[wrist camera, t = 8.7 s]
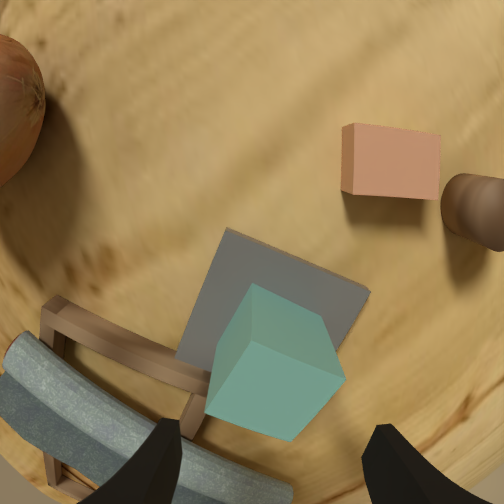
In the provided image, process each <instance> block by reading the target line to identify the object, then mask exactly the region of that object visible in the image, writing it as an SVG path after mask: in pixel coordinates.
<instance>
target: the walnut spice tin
mask: <svg viewBox="0 0 504 504" xmlns="http://www.w3.org/2000/svg"><path fill="white" fill-rule="evenodd" d="M441 213H442V217H443V220H444V223H445V225H446V226H447V228H448V229H449V230H450V231H451V232H453V233H455V234H457V235H459V236H462V237H464V238H466V239H469V240H471V241H473V242H476V243H478V244H480V245H482V246H485V247H487V248H489V249H491V250H493V251H496V252H502V251H504V179H500V178H494V177H487V176H480V175H473V174H465V173H463V174H458V175H456V176H454V177H453V178H452V179H451V180H450V181H449V182H448V183H447V185H446V187H445V189H444V191H443V194H442V199H441Z"/></svg>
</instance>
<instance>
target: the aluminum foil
mask: <svg viewBox="0 0 504 504" xmlns="http://www.w3.org/2000/svg"><path fill="white" fill-rule="evenodd" d="M2 365H3V369H4V370H5V372H4V373H3V375H2V376H1V377H0V416H1V417H2V418H3V419H4V420H5V421H6V422H7V423H8V424H9V425H10V426H11V427H12V428H13V429H14V430H15V431H16V432H17V433H18V434H19V435H20V436H21V437H22V438H23V439H24V440H26V441H28V442H29V443H31V444H32V445H34V446H36V447H37V448H39V449H40V450H42V451H44V452H46V453H47V454H49V455H51V456H52V457H54V458H56V459H58V460H60V461H61V462H63V463H65V464H67V465H69V466H71V467H73V468H75V469H76V470H78V471H79V472H80V473H82V474H83V475H84V476H86V477H87V478H89V479H90V480H91V481H93V482H94V483H96V484H97V485H98V486H100V487H101V486H102V485H103V484H104V483H105V482H107V481H108V480H109V479H110V478H111V477H112V476H113V475H114V474H115V473H116V472H117V471H118V470H119V469H120V468H121V467H122V466H123V465H124V464H125V463H126V462H127V461H128V460H129V459H130V458H131V457H132V456H133V454H134V453H135V452H136V451H137V450H138V448H139V447H140V446H141V445H142V444H143V442H144V441H145V440H146V439H147V437H148V436H149V435H150V433H151V432H152V430H153V429H154V428H155V426H156V425H157V423H155V422H153V421H152V420H150V419H148V418H147V417H145V416H143V415H142V414H140V413H138V412H137V411H135V410H133V409H132V408H130V407H129V406H127V405H126V404H124V403H122V402H121V401H119V400H118V399H116V398H115V397H113V396H112V395H110V394H109V393H107V392H106V391H104V390H103V389H102V388H100V387H99V386H97V385H96V384H94V383H93V382H92V381H90V380H89V379H88V378H86V377H85V376H83V375H82V374H81V373H79V372H78V371H77V370H75V369H74V368H73V367H72V366H70V365H69V364H68V363H66V362H65V361H64V360H63V359H61V358H60V357H59V356H58V355H56V354H55V353H54V352H53V351H52V350H50V349H49V348H48V347H47V346H46V345H44V344H43V343H42V342H41V341H40V340H39V339H37V338H36V337H35V336H34V335H33V334H32V333H31V332H30V331H24V332H23V333H22V334H20V335H18V336H17V337H16V338H15V339H14V340H13V342H12V343H11V344H10V346H9V347H8V349H7V351H6V353H5V356H4V360H3V364H2ZM181 443H182V452H183V455H182V461H181V468H180V474H179V478H178V482H177V485H176V489H175V492H174V496H173V499H172V503H171V504H291V502H292V500H293V488H292V486H291V485H290V484H289V483H287V482H284V481H281V480H278V479H275V478H273V477H270V476H267V475H265V474H262V473H259V472H257V471H254V470H252V469H249V468H247V467H244V466H242V465H240V464H237V463H235V462H233V461H230V460H228V459H226V458H223V457H221V456H219V455H217V454H215V453H213V452H210V451H208V450H206V449H204V448H202V447H200V446H198V445H196V444H194V443H192V442H190V441H188V440H186V439H184V438H182V437H181Z"/></svg>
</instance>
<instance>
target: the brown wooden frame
mask: <svg viewBox="0 0 504 504" xmlns="http://www.w3.org/2000/svg"><path fill="white" fill-rule="evenodd" d="M66 336H67V337H69V338H71V339H73V340H75V341H77V342H79V343H80V344H82V345H84V346H86V347H88V348H90V349H92V350H94V351H96V352H98V353H100V354H102V355H104V356H106V357H108V358H110V359H113V360H115V361H117V362H119V363H121V364H123V365H125V366H128V367H130V368H132V369H134V370H137V371H139V372H141V373H144V374H146V375H148V376H151V377H153V378H155V379H158V380H160V381H163V382H165V383H168V384H170V385H173V386H175V387H178V388H181V389H183V390H186V391H189V392H191V395H190V398H189V400H188V402H187V404H186V406H185V409H184V411H183V413H182V415H181V417H180V420H179V422H180V433H181V437H182V438H184V439H186V440H188V441H190V442H191V441H192V440H193V438H194V436H195V434H196V432H197V430H198V428H199V427H200V425H201V423H202V421H203V419H204V417H205V415H206V413H204V411H205V405H206V400H207V394H208V389H209V384H210V378H211V373H212V372H209V371H206V370H204V369H201V368H198V367H196V366H193V365H190V364H188V363H185V362H183V361H180V360H178V359H175V358H174V357H175V355H176V352H177V351H175V350H172V349H170V348H167V347H165V346H163V345H160V344H158V343H156V342H153V341H151V340H149V339H146V338H144V337H142V336H139V335H137V334H135V333H133V332H131V331H128V330H126V329H124V328H122V327H120V326H118V325H115V324H113V323H111V322H109V321H107V320H105V319H103V318H101V317H99V316H97V315H95V314H93V313H91V312H89V311H87V310H85V309H83V308H81V307H79V306H77V305H75V304H73V303H71V302H70V301H68V300H66V299H64V298H62V297H60V296H58V295H56V296H54V297H53V298H52V299H51V300H49V301H48V302H47V303H45V304H44V305H43V306H42V309H41V320H40V336H39V340H40V341H41V342H42V343H43V344H44V345H46V346H47V347H48V348H49V349H50V350H52V351H53V352H54V353H55V354H56V355H58V356H59V357H60V358H61V359H63V358H64V347H65V338H66ZM43 455H44V462H45V469H46V475H47V481H48V485H49V486H51V487H53V488H54V489H56V490H58V491H60V492H62V493H64V494H66V495H68V496H70V497H72V498H74V499H76V500H78V501H82V500H83V499H84V498H86V497H87V496H89V495H90V494H91V493H93V492H94V490H91V489H89V488H87V487H85V486H83V485H81V484H79V483H77V482H75V481H73V480H71V479H69V478H67V477H65V476H63V475H62V468H61V461H60V460H58V459H56V458H54V457H52V456H51V455H49V454H47V453H46V452H44V451H43Z"/></svg>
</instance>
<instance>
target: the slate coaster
mask: <svg viewBox="0 0 504 504" xmlns="http://www.w3.org/2000/svg"><path fill="white" fill-rule="evenodd" d="M252 283H254V284H256V285H258V286H260V287H262V288H264V289H266V290H268V291H270V292H272V293H274V294H276V295H278V296H280V297H282V298H284V299H287V300H289V301H291V302H293V303H295V304H297V305H299V306H301V307H303V308H305V309H307V310H309V311H311V312H314V313H316V314H318V315H320V316H321V317H322V319H323V322H324V324H325V327H326V329H327V332H328V334H329V337H330V339H331V342H332V344H333V347H334V349H335V352H336V350H337V348H338V347H339V345H340V344H341V342H342V340H343V339H344V337H345V336H346V334H347V332H348V331H349V329H350V327H351V326H352V324H353V322H354V321H355V319H356V317H357V315H358V314H359V312H360V310H361V309H362V307H363V305H364V303H365V302H366V300H367V298H368V296H369V294H370V293H371V291H370V290H369V289H368V288H367V287H366V286H364V285H361V284H359V283H357V282H354V281H352V280H350V279H347V278H345V277H343V276H340V275H338V274H336V273H333V272H331V271H329V270H327V269H324V268H322V267H320V266H317V265H315V264H313V263H310V262H308V261H305V260H303V259H301V258H298V257H296V256H294V255H291V254H289V253H287V252H284V251H282V250H280V249H277V248H275V247H273V246H270V245H268V244H265V243H263V242H261V241H258V240H256V239H254V238H251V237H249V236H246V235H244V234H242V233H239V232H237V231H234V230H232V229H230V228H226V230H225V232H224V235H223V237H222V240H221V242H220V244H219V247H218V249H217V252H216V254H215V256H214V259H213V261H212V264H211V266H210V269H209V271H208V274H207V276H206V278H205V281H204V283H203V286H202V288H201V291H200V293H199V296H198V298H197V301H196V303H195V306H194V308H193V311H192V314H191V316H190V319H189V321H188V324H187V326H186V329H185V331H184V334H183V337H182V339H181V342H180V344H179V347H178V350H177V352H176V355H175V357H174V358H175V359H178V360H180V361H183V362H185V363H188V364H190V365H193V366H196V367H198V368H201V369H204V370H206V371H209V372H212V368H213V363H214V357H215V352H216V347H217V343H218V342H219V340H220V338H221V336H222V335H223V333H224V331H225V329H226V328H227V326H228V324H229V323H230V321H231V319H232V317H233V316H234V314H235V312H236V310H237V309H238V307H239V305H240V303H241V302H242V300H243V298H244V296H245V295H246V293H247V291H248V289H249V288H250V286H251V284H252Z"/></svg>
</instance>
